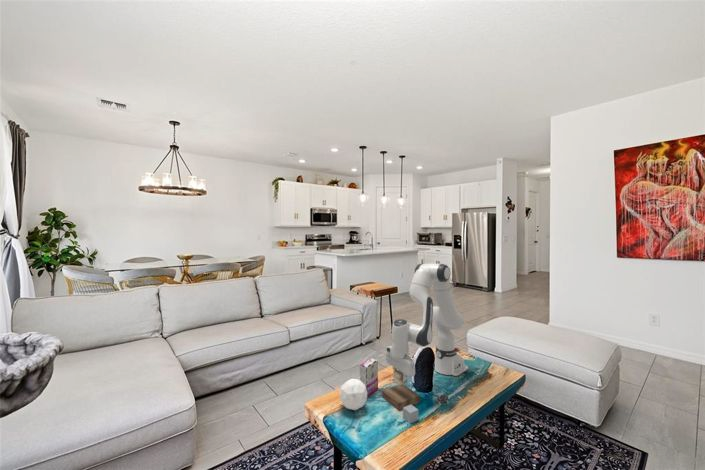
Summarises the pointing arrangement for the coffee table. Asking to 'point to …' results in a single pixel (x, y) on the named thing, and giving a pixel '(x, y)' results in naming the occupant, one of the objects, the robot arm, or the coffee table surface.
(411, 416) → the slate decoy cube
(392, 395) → the walnut base block
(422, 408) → the coffee table surface
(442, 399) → the car cutout
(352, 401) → the geodesic sphere
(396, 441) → the coffee table surface
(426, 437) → the coffee table surface
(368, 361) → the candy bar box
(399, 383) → the maple cube
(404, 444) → the coffee table surface
